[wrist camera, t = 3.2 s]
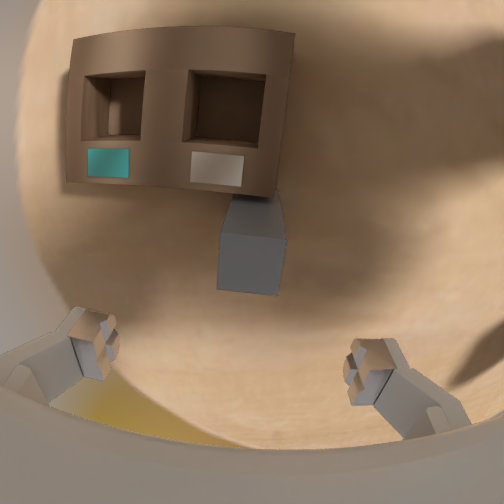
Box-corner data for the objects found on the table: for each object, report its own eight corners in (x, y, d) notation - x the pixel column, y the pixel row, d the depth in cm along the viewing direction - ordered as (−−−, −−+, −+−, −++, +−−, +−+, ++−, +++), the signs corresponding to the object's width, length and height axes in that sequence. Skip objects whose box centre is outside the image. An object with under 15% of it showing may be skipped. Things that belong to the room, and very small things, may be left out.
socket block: (289, 47, 17) (295, 32, 14) (271, 183, 22) (274, 198, 18) (100, 47, 17) (71, 39, 13) (93, 170, 21) (65, 182, 18)
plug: (277, 190, 22) (287, 239, 14) (272, 229, 23) (277, 295, 15) (236, 185, 22) (220, 232, 14) (232, 224, 23) (216, 289, 15)
